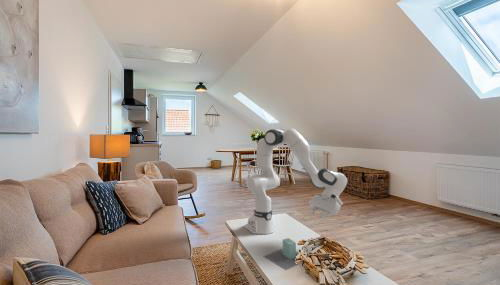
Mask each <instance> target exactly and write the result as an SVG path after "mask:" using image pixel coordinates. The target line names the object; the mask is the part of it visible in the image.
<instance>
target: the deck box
mask: <svg viewBox="0 0 500 285" xmlns="http://www.w3.org/2000/svg"><path fill="white" fill-rule="evenodd" d="M282 249H283V255H285V256H286V257H287V258H289V259H293V258H296V252H297V250H296V249H297V243H296V242H295V240H293V239H291V238H289V237H288V238H283V239H282Z"/></svg>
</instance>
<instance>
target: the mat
mask: <svg viewBox="0 0 500 285" xmlns="http://www.w3.org/2000/svg"><path fill="white" fill-rule="evenodd" d="M298 253H299V252H298V251H296V256H297V255H298ZM263 258H264V259H265V258H266V259H267V260H269V261H270V262H271V263H273V264H275V265H277V266H279V267H280V268H281V269H283V270H285V271H287V270H289V269H291V268H294V267H295V266H299V264H296V263H295V258H293V259H289V258H287V257H286V256H285V255H283V248H282V249H278V250H276V251H274V252H271V253H269V254H266V255H263Z"/></svg>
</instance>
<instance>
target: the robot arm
mask: <svg viewBox="0 0 500 285" xmlns="http://www.w3.org/2000/svg"><path fill="white" fill-rule="evenodd" d="M283 144H286V145H287V147H288V148H289V150H290V151H291V153H293V155H294V156H295V157H296V158H297V160H298V161H299V163H300V165H301V166H302V167H303V169H304V170H305V172H306V173H307V175H308V176H309V178H310V182H311V184H312V186H313V187H314V188H315V189H319V190H322V189H323V191H322V193H321V194H320V193H318V194H315V195H313V197H312V198H311V199H310V200H309V202H308V205H309V206H310V207H311V211H310V214H311V215H313V216H314V215H315V214H316V212H315V211H316V210H317V211H318V210H319V211H321V212H323V213H322V214H320V215H319V218H320V219H322V220H323V219H325V217H327V216H329V215H332V216H336V215H337V214H338V213H339V211H340V210H341V208H342V207H341V206H343V204H344V203H343V201H342V200H341V198H339V197H340V195H341V194H342V193H343V191H344V190H345V188H346V187H347V184H348V178H347V177H346V175H345V174H343V173H342V172H336V171H335V172H334V171H332V170H330V168H329V169H328V168H321V169H319V170H318V168H316V166H315V165H314V163H313V162H312V160H311V157H310V152H311V147H310V145H309V143H308V141H307V140H306V139H305V138H304V137H303V135H302V134H301V133H300V132H298V131H297V130H296V129H295V128H288V129H286V130H284V129H283V128H273V129H269V130H267V131H266V132H265V133H264V135H263V138H259V140H258V142H257V147H256V156H255V158H256V159H255V161H256V162H255V165H256V167H257V168H258V169H260V172H261V174H254V175H251V176H249V177H248V178H247V179H246V188H247V189H248V191H250V192H251V193H252V195H253V196H254V201H255V202H254V203H255V209H254V210H253V211H252V212H253V214H252V215H251V216H250V217H249V218H248V219H247V223H245V224H244V225H243V226H244V228H246V230H247V231H249V232H250V233H251V234H255V235H257V234H259V235H268V234H269V235H270V234H272V233H273V232H274V231H275V226H274V218H273V209H272V198H271V197H270V196H268V195H267V193H266V191H269V190H273V189H275V188H277V187H279V185H280V182H281V180H280V177H279V176H278V174H277V173H275V170H274V167H273V156H274V155H273V154H274V153H273V151H274V148H275V146H280V145H281V146H282V145H283ZM324 188H325V189H324Z"/></svg>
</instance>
